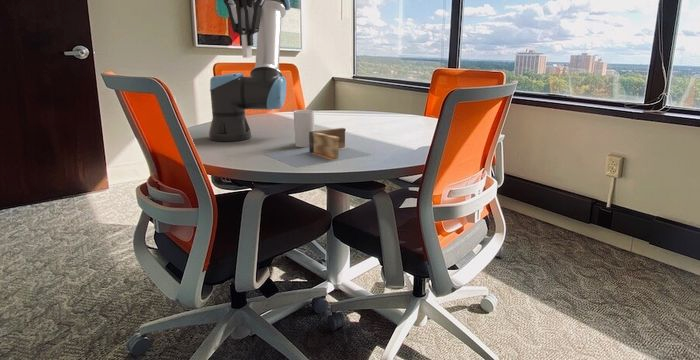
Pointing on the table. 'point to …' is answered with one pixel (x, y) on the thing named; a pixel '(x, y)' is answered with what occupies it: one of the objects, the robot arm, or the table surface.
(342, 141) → the base
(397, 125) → the table surface
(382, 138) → the table surface
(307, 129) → the mug
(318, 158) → the card
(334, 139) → the wooden board
